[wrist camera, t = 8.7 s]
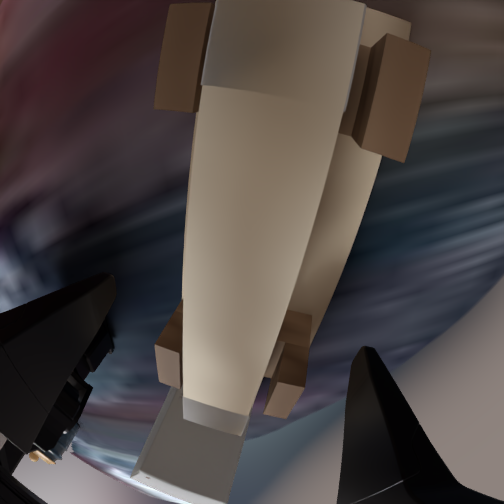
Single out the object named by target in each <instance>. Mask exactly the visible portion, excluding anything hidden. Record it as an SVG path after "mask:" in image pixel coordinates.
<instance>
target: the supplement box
mask: <svg viewBox="0 0 504 504" xmlns="http://www.w3.org/2000/svg"><path fill="white" fill-rule="evenodd" d="M252 407H253V405H252ZM251 412H252V408H251V411H250V415H249V418H248V421H247V423H246V426H245V428H244V430H243V433H242V435H241V436H238V435H234V434H230V433H227V432H223V431H220V430H216V429H213V428H210V427H207V426H203V425H200V424H197V423H194V422H191V421H188V420H185V419H183V385H182V387H181V389H178V388H175V387H171V389H170V391H169V393H168V395H167V397H166V400H165V402H164V404H163V406H162V408H161V410H160V413H159V415H158V417H157V419H156V421H155V423H154V426H153V428H152V430H151V432H150V434H149V436H148V438H147V440H146V443H145V445H144V447H143V449H142V452H141V454H140V456H139V458H138V460H137V463H136V465H135V467H134V469H133V472H132V474H131V477H130V478H132V479H134V480H136V481H138V482H140V483H142V484H145V485H147V486H149V487H151V488H154V489H156V490H158V491H161V492H163V493H165V494H168V495H170V496H173V497H176V498H178V499H181V500H184V501H187V502H189V503H192V504H227V503H228V500H229V495H230V491H231V487H232V483H233V480H234V476H235V473H236V469H237V466H238V462H239V458H240V454H241V451H242V447H243V443H244V440H245V436H246V432H247V428H248V424H249V420H250V416H251Z"/></svg>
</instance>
